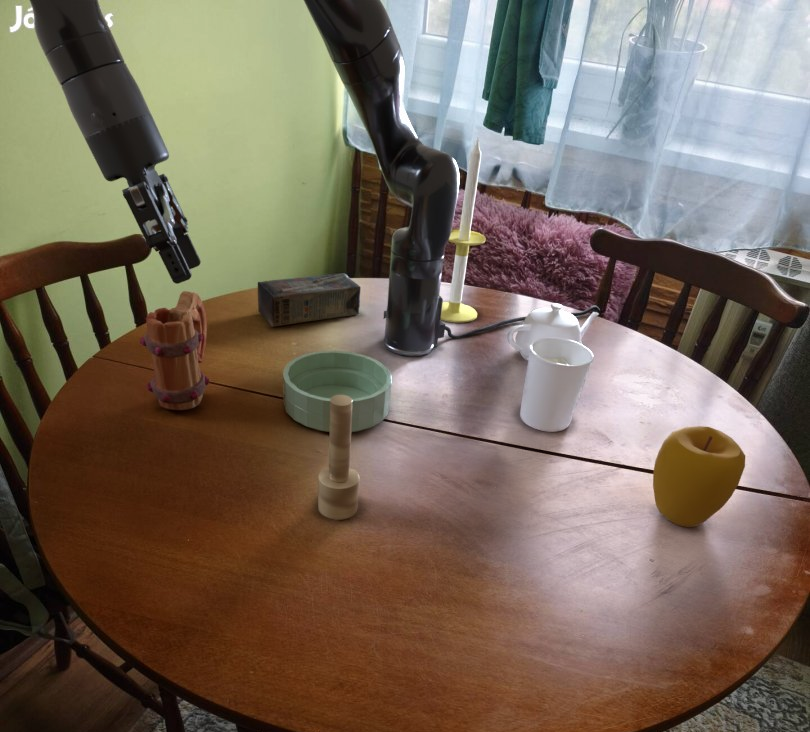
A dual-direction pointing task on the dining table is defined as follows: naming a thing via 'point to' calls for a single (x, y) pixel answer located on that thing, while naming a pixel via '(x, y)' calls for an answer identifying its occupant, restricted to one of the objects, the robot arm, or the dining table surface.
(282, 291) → the beverage carton
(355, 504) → the wooden masher
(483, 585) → the dining table surface
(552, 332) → the teapot
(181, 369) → the mug
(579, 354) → the white cup
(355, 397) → the bowl
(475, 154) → the candle
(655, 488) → the apple
